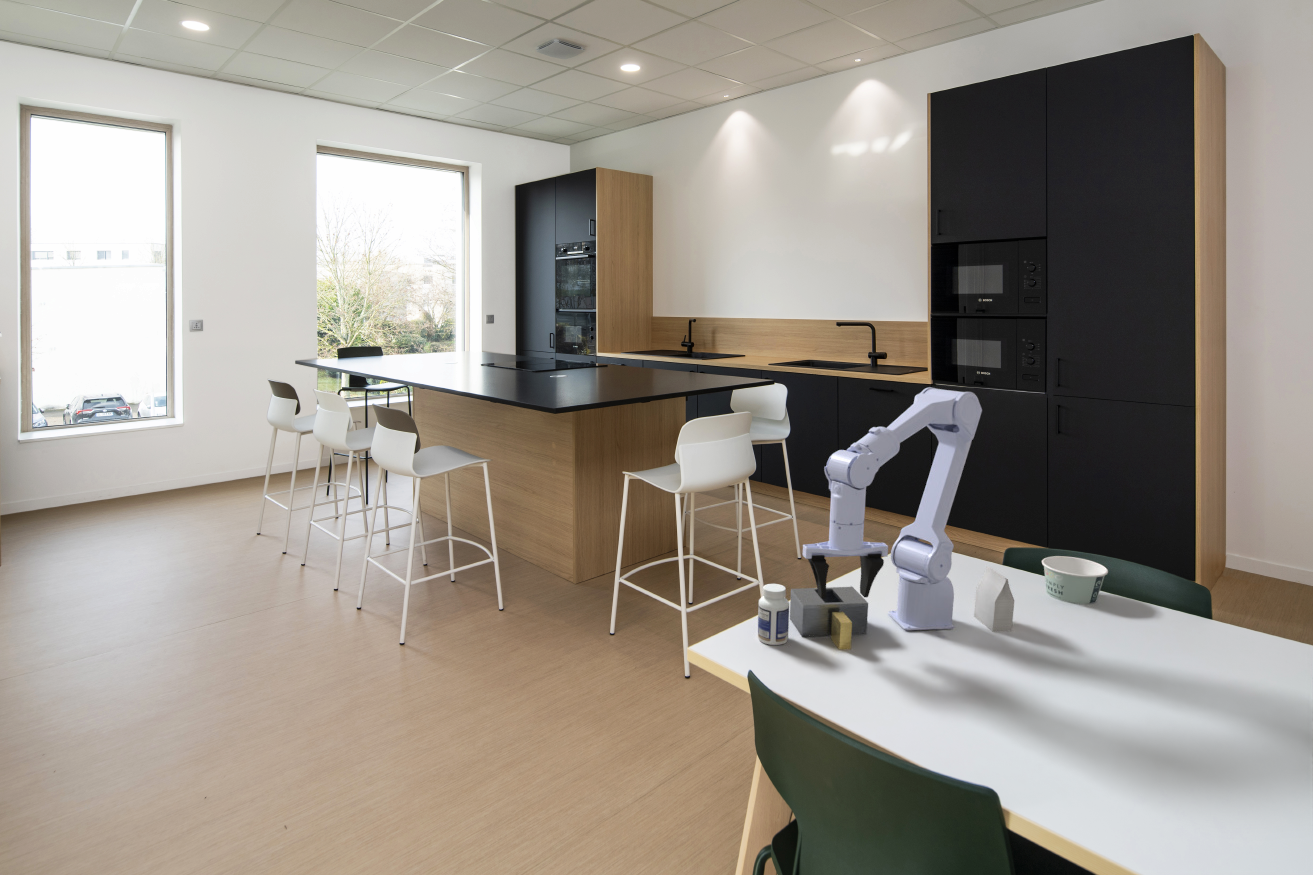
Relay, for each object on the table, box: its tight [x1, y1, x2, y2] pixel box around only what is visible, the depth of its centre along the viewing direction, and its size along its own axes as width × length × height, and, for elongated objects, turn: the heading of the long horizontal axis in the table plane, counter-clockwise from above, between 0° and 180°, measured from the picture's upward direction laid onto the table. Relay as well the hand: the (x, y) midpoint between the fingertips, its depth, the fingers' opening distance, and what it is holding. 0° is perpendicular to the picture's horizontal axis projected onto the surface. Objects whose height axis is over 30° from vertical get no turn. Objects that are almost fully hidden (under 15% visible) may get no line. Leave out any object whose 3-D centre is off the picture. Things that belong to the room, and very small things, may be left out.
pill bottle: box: [757, 583, 790, 646], centre depth 134 cm, size 5×5×10 cm
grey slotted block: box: [789, 586, 869, 638], centre depth 140 cm, size 12×8×6 cm, turn 96°
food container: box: [1041, 555, 1109, 605], centre depth 156 cm, size 12×12×6 cm
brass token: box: [830, 612, 852, 651], centre depth 133 cm, size 2×4×5 cm, turn 6°
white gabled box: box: [973, 566, 1015, 632], centre depth 142 cm, size 4×7×10 cm, turn 5°
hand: (842, 595), depth 132 cm, fingers open, 7 cm apart
